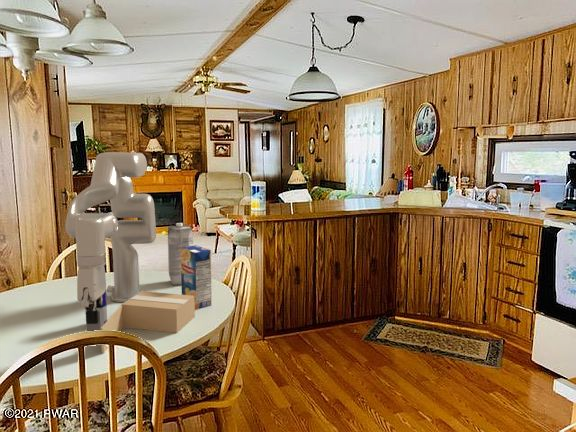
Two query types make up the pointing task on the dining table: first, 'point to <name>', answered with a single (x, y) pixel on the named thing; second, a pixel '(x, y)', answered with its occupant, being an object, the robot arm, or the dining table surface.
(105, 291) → the beverage can
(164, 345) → the dining table surface
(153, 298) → the kraft carton
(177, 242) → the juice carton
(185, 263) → the beverage box
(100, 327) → the side flap
